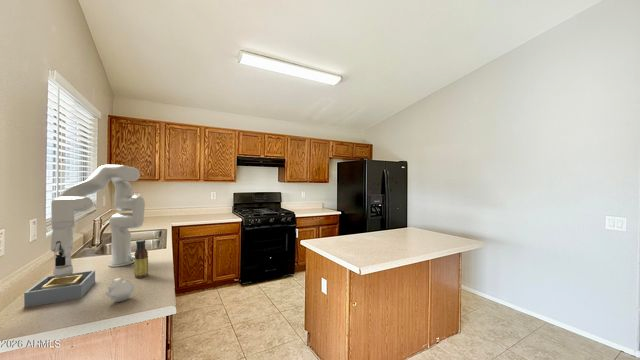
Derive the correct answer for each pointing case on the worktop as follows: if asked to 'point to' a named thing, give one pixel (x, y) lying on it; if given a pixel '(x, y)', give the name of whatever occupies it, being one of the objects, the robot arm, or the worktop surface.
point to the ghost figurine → (120, 290)
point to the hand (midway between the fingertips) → (63, 263)
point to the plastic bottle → (67, 268)
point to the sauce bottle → (141, 260)
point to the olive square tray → (63, 282)
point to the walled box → (58, 290)
